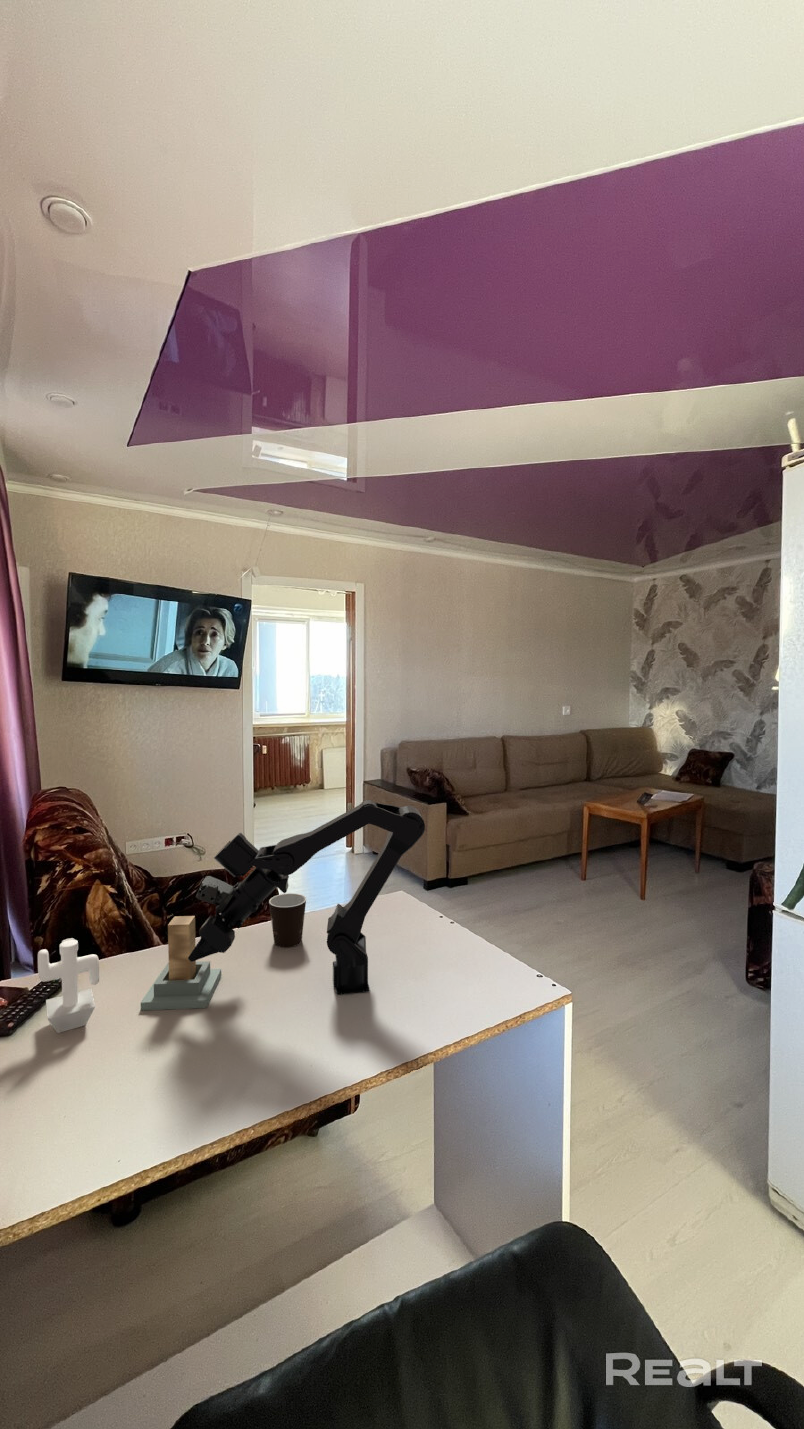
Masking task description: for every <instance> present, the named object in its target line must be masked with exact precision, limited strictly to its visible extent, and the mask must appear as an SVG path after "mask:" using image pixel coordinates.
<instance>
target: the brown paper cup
mask: <svg viewBox="0 0 804 1429" xmlns="http://www.w3.org/2000/svg"><path fill="white" fill-rule="evenodd" d="M268 904H269V913H270V920H271V927H272V936H273V944H274V945H275V946H276V947H279V948H285V949H286V948H293V947H296V946H298V945H300V944H301V943H302V940H303V932H304V930H303V929H304V923H305V913H306V905H307V897H306V896H305V895H303V894H300V893H288V892H286V893H282V894H278V895H274V896H273V897H271V898H270V899H269V900H268Z"/></svg>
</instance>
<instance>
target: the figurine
mask: <svg viewBox="0 0 804 1429" xmlns="http://www.w3.org/2000/svg"><path fill="white" fill-rule="evenodd" d="M78 941H79V940H77V939H75V938H73V937H71V938H66V939H63V940H61V943H60V944H59V955H60V960H59V961H57V962H52V963H50V957H49V956H50V954H49V951H48V949H46V948H45V949H40V950H39V951H38V952H37V973H38V979H39V981H41V982H43V983H44V982H50V981H53V980H54V981H55V980H58V979H61V994H62V995H61V996H57V997H52V998H49V999H48V998H47V999H45V1006H46V1016H47V1021H48V1022H49V1024H50V1025H51V1026H52V1027H53V1029H54V1030H55V1031H56V1033H57V1034H60V1033H63V1032H65V1031H67V1032H68V1031H70V1030H73V1029H76V1028H80V1027H84V1026H86V1025H87V1024H88V1022H89V1019H90V1018H91V1015H92V1014H93V1012H94V1010H95V1008H96V1003H95V999H94V995H93V990H92V988H91V987H90V988H87V989H82V990H80V991H79V983H78V982H79V980H78V977H79V976H78V975H79V974H83V973H88V976H89V983H90V984H91V985H93V986H95V985H97V984H99V982H100V977H101V976H100V960H99V956H98V955H97V954H96V953H95V954H93V953H92V954H88V955H84V956H78V950H79V942H78Z"/></svg>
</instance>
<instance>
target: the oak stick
mask: <svg viewBox="0 0 804 1429" xmlns="http://www.w3.org/2000/svg"><path fill="white" fill-rule="evenodd" d="M167 940H168V942H167V945H168V946H167V947H168V949H167V950H168V953H167V954H168V963H169V980H194V979H195V977H196V962H197V960H196V961H193V962H191V961H190V960H189V959H188V957H189V955H190V954H191V952H192V951H193V949H194V948H195V947H196V916H195V915H183V916H182V915H179V916H173V918H172V919H171V920H170V921H169V923H168V924H167Z"/></svg>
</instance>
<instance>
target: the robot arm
mask: <svg viewBox="0 0 804 1429" xmlns="http://www.w3.org/2000/svg"><path fill="white" fill-rule="evenodd" d="M425 824H426V823H425V820H424V818H423V816H422V814H421V813H420V811H419V810H418V808H416V807H415V806H412V805H405V806H397V805H393V804H387V803H381V802H376V801H373V800H371V799H366V800H363V801H362V802H361V803H359V804H358V805H357V806H355V807H353V808H351V809H349V810H348V811H346V812H344V813H342V814H340V815H338V816H336V817H335V818H333V819H331V820H329V821H328V822H326V823H324V824H322V825H320V826H318V827H316V828H315V829H314V830H313V829H312V830H311V831H308V832H305V833H300V834H296V835H293V836H290V837H287V838H284V839H281V840H280V841H279V842H278V843H277V844H272V845H267V846H262V847H259V849H258V848H257V847H255V846H254V844H253V843H251V842H250V841H249V840H248V839H247V838H246V836H245V835H244V834H243V833H242V832H239V833H238V834H237V835H236V836H235V837H233V838H232V839H231V840H229V841H228V842H226V844H225V845H224V846H223V847H222V848H221V849H220V850H219V851H218V853H216V854H215V855H214V857H213V859H214V860H215V861H216V862H217V863H218V864H220V865H221V866H222V867H223V868H224V869H225V870H226V871H227V872H229V874H230V875H232V877H234V878H235V877H237V878H240V877H244V876H246V875H247V874H248V872H250V871H251V870H252V869H253V867H255V868H254V869H253V870H252V871H251V872H250V873H249V874H248V875H247V876H246V877H245V878H244V879H243V880H242V881H239V882H237V883H236V884H235V885H232V884H228V882H226V881H222V880H221V879H218V878H216V877H213V876H211V875H207V876H205V877H204V879H203V880H202V882H201V884H200V886H199V888H198V890H197V893H196V895H195V898H196V899H197V900H199V901H202V902H205V903H208V904H212V905H214V906H215V908H214V909H215V915H210V916H209V917H208V918H207V919H206V920H205V922H204V923H203V924H202V925H201V927H200V928H199V930H198V933H199V936H200V939H199V941H198V942H197V944H195V948H194V949H193V951H192V952H191V954H190V955H189V957H188V959H189V960H190V961H191V962H193V961H196V962H197V960H198V961H199V960H201V959H203V958H206V957H208V956H211V955H215V954H218V953H222V954H225V953H226V952H227V951H228V950H229V949H230V948H231V947H232V945H233V943H234V941H235V939H236V931H235V930H234V929H233V927H234V926H235V927H236V928H237V929H240V928H241V927H243V925H244V922H245V920H246V919H247V918H248V917H250V915H251V914H254V913H255V912H257V911H258V908H259V906H260V905H261V904H263V902H264V901H265V900H266V899H267V898H268V897H269V896H270V895H271V894H272V893H273V892H274V891H275V890H276V889H278V890H280V891H281V892H282V894H287V893H288V889H289V878H290V875H293V874H294V873H295V872H296V871H298V870H299V869H301V868H302V867H303V866H304V865H305V864H306V863H308V861H310V860H311V859H312V858H313V857H314V856H315V855H316V854H317V853H320V851H322V850H324V849H326V848H327V847H329V846H331V845H333V844H334V843H336V842H338V841H340V840H342V839H343V838H345V837H347V836H349V835H351V834H352V833H354V832H356V831H358V830H359V829H362V828H363V827H365V826H367V825H372V826H376V827H377V828H380V829H382V830H384V831H387V832H388V833H387V835H386V839H385V842H384V844H383V846H382V848H381V850H379V853H378V854H377V856H376V858H375V859H374V861H373V862H372V864H371V866H370V867H369V869H368V871H367V872H366V874H365V876H364V878H363V879H362V881H361V883H360V884H359V886H358V888H357V890H356V891H355V892H354V894H353V896H352V897H351V899H350V900H349V902H348V903H346V904H345V905H344V906H342V904H340V903H337V904H336V907H335V909H334V912H333V913H332V915H331V916H329V917H328V918H327V926H326V928H327V929H326V934H327V937H326V938H327V939H326V945H327V949H328V950H329V952H330V953H331V954H333V955H335V960H334V961H332V985H333V987H334V988H335V992H336V994H337V995H349V994H358V993H359V994H360V993H369V992H370V985H369V957H368V953H367V937H366V935H365V934H364V933H362V930H363V925H364V922H365V918H366V916H367V914H368V913H369V911H370V909H371V908H372V906H373V904H374V902H375V901H376V899H377V897H378V896H379V894H380V892H381V891H382V890H383V887H384V886H385V884H386V883H387V881H388V879H389V877H390V876H391V874H392V872H393V871H394V869H395V867H396V866H397V864H398V862H399V861H400V859H401V858H402V856H404V855H405V854H406V853H407V852H408V851H409V850H411V849H412V848H413V847H414V846H415V844H416V843H417V842H418V841H419V840H420V839H421V838H422V836H423V835H424V832H425V830H426V825H425Z"/></svg>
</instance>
